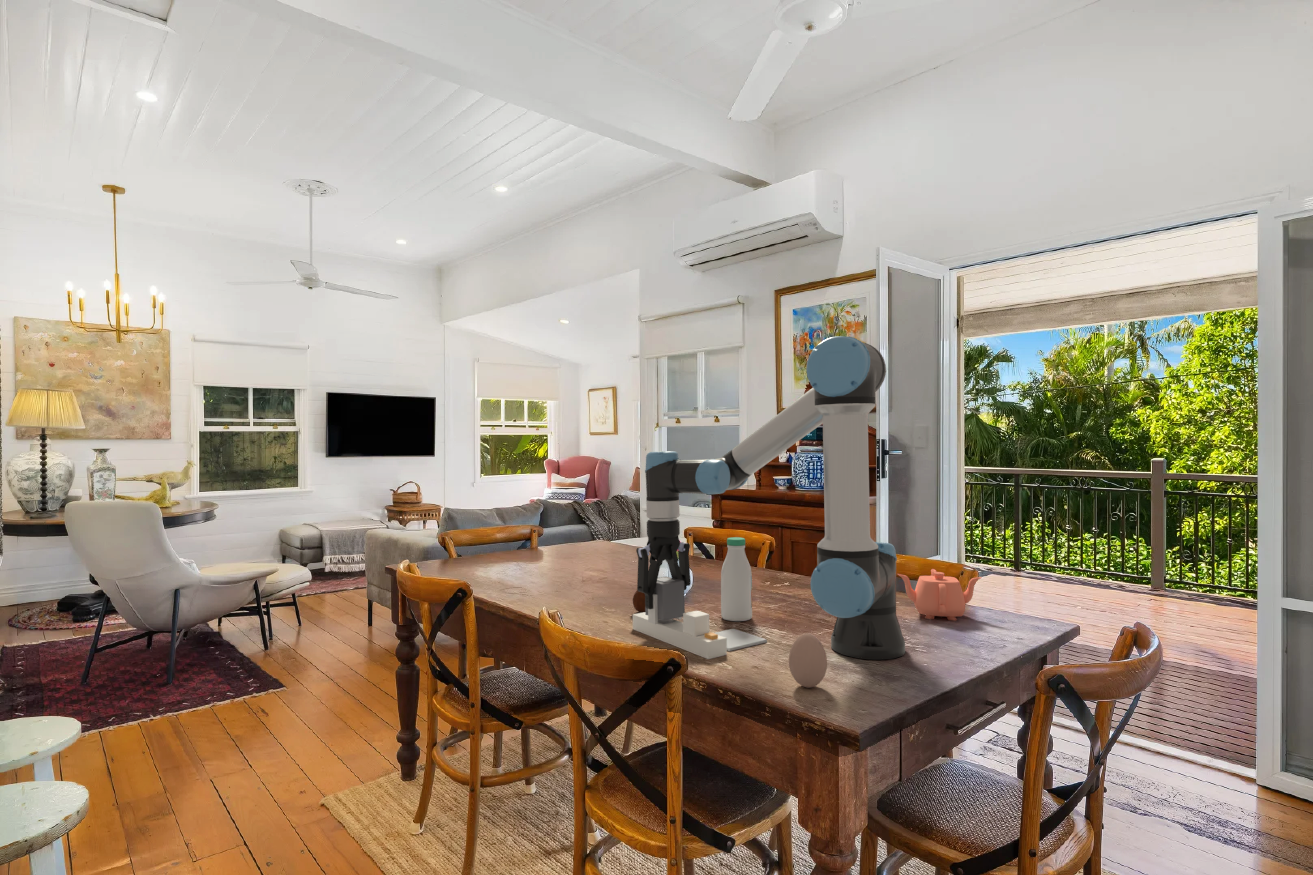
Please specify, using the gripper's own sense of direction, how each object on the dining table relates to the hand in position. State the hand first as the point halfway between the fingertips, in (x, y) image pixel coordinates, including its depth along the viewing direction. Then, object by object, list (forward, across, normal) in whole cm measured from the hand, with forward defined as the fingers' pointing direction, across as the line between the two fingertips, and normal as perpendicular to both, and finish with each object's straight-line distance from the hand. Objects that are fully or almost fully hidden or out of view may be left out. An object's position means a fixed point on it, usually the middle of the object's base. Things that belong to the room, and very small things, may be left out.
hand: (665, 620), depth 162 cm
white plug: (0, 0, +12) cm, 12 cm away
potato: (+4, -11, -20) cm, 23 cm away
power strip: (+4, 0, +4) cm, 6 cm away
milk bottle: (+4, -24, -2) cm, 24 cm away
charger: (-1, 0, 0) cm, 1 cm away
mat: (+4, -10, +12) cm, 16 cm away
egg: (+5, -2, +42) cm, 42 cm away
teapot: (+5, -67, +26) cm, 72 cm away
